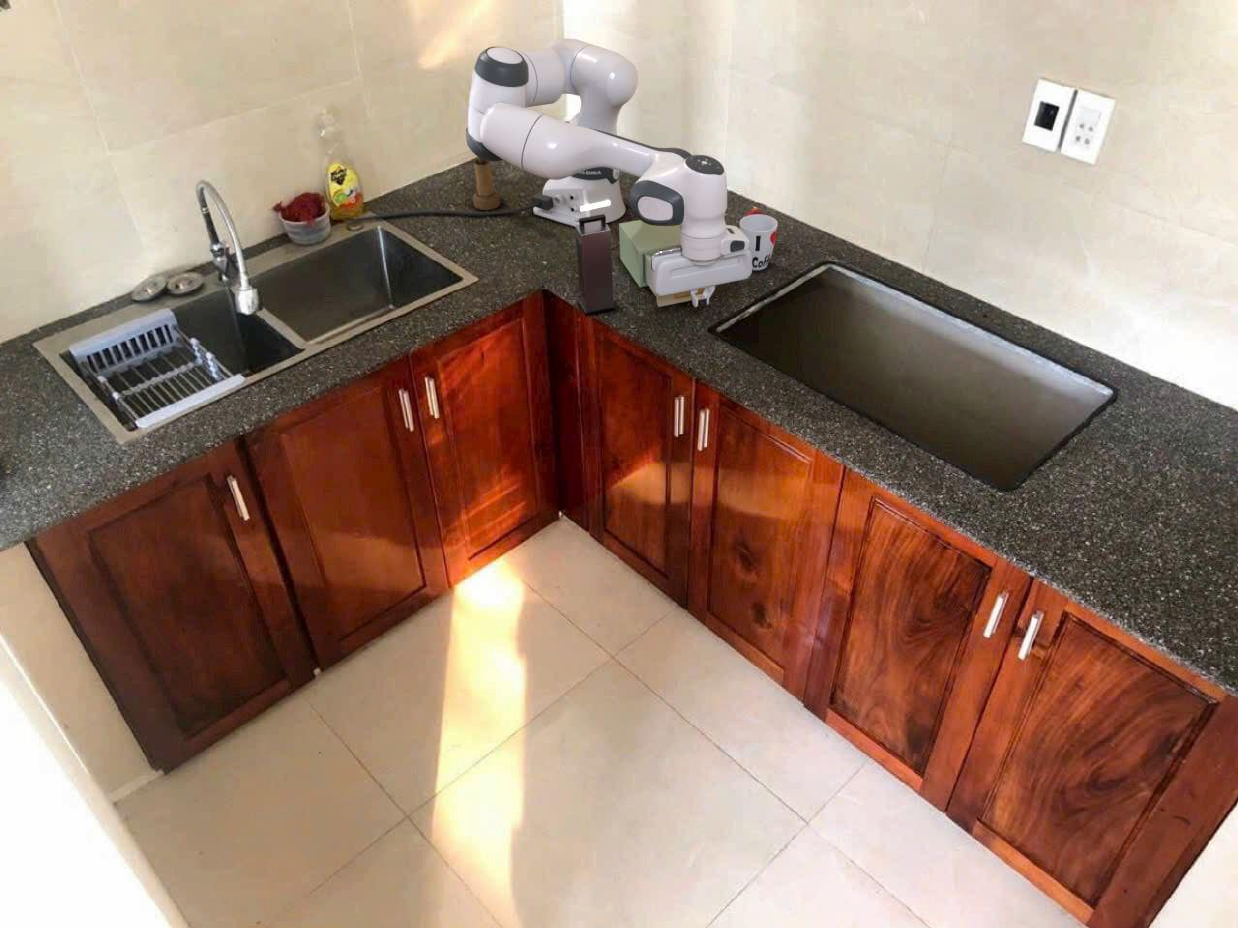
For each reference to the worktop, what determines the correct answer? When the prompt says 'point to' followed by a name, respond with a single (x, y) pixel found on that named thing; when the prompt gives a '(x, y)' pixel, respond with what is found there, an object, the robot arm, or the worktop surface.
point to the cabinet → (643, 244)
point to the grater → (594, 265)
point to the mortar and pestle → (485, 186)
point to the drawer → (667, 298)
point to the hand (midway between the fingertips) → (700, 304)
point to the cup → (759, 238)
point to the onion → (754, 212)
